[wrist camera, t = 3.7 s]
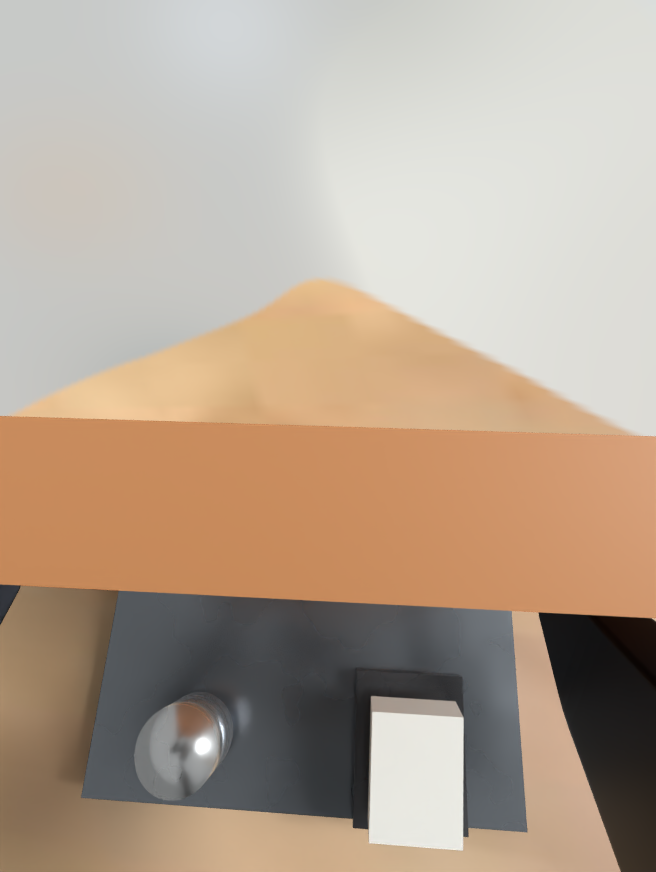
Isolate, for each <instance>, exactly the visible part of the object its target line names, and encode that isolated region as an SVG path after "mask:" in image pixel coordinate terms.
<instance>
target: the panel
mask: <svg viewBox="0 0 656 872" xmlns="http://www.w3.org/2000/svg"><path fill="white" fill-rule="evenodd" d="M194 692H208V693H211V694H213V695H215V696H217V697H218V698H220V699H221V700H222V701H223V702H224V703H225V704H226V706H227V707H228V709H229V711H230V713H231V716H232V720H233V728H234V730H233V740H232V743H231V746H230V749H229V751H228V753H227V755H226V756H225V758H224V759H223V761H222V762H221V763H220V764H219V766H218V767H217V768H216V769H215V771H214V772H213V773H212V774H211V776H210V777H209V778H208V779H207V781H206V782H205V783H204V784H203V785H202V787H201V788H200V789H199V790H197V791H196V792H195V793H193V794H192V795H191V796H188V797H186V798H184V799H181V800H175V801H167V800H162V799H159V798H157V797H155V796H153V795H152V794H151V793H149V792H148V791H147V790H146V789H145V788H144V786H143V785H142V784H141V782H140V780H139V778H138V775H137V772H136V768H135V761H134V754H135V746H136V742H137V739H138V736H139V734H140V731H141V730H142V728H143V726H144V725H145V723H146V722H147V721H148V720H149V719H150V718H151V717H152V716H153V715H154V714H155V713H156V712H158V711H160V710H161V709H163V708H165V707H166V706H168V705H170V704H172V703H173V702H175V701H177V700H179V699H180V698H182V697H184V696H186V695H188V694H190V693H194ZM371 696H379V697H394V698H410V699H426V700H442V701H456V703H457V705H458V707H459V709H460V711H461V713H462V715H463V717H464V735H463V837H468V828H479V829H492V830H505V831H518V832H527V821H526V807H525V793H524V779H523V765H522V751H521V737H520V723H519V709H518V695H517V681H516V667H515V653H514V639H513V625H512V611H504V610H485V609H465V608H446V607H427V606H407V605H388V604H369V603H350V602H330V601H311V600H292V599H272V598H253V597H234V596H214V595H195V594H176V593H157V592H137V591H119V592H118V598H117V603H116V609H115V614H114V620H113V625H112V631H111V636H110V642H109V647H108V653H107V658H106V664H105V669H104V675H103V680H102V686H101V691H100V697H99V702H98V708H97V713H96V719H95V724H94V730H93V735H92V741H91V746H90V752H89V757H88V763H87V768H86V774H85V779H84V785H83V790H82V796H81V798H91V799H104V800H116V801H129V802H142V803H155V804H168V805H181V806H194V807H207V808H220V809H233V810H246V811H259V812H272V813H285V814H298V815H311V816H324V817H337V818H349V819H353V828H360V829H368V788H369V750H370V712H371Z"/></svg>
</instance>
